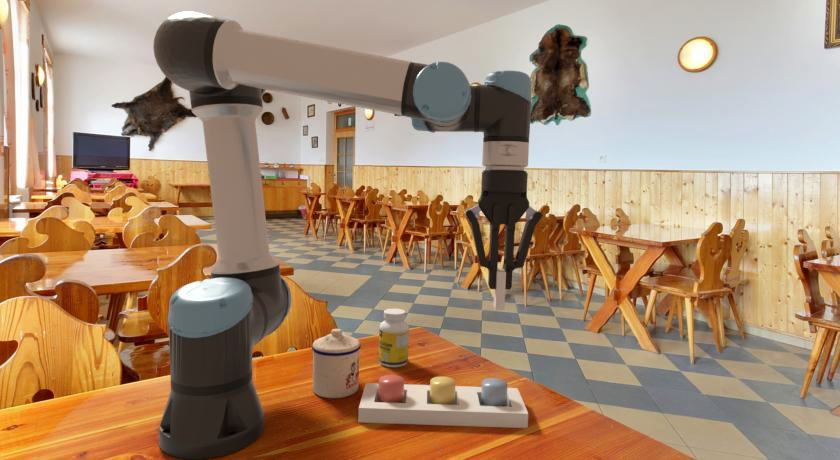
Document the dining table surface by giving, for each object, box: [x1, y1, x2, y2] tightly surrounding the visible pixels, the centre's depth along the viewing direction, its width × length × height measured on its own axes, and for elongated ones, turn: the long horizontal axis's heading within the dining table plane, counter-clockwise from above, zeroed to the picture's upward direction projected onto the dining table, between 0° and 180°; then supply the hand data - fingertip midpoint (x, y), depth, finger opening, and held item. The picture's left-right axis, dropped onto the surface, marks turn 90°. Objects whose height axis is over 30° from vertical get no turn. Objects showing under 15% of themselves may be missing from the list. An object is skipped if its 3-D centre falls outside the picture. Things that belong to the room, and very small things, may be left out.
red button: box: [378, 374, 405, 403], centre depth 87 cm, size 4×4×4 cm
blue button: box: [481, 377, 509, 407], centre depth 87 cm, size 4×4×4 cm
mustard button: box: [429, 376, 457, 405], centre depth 87 cm, size 4×4×4 cm
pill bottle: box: [378, 308, 410, 368], centre depth 109 cm, size 6×6×12 cm
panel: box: [357, 382, 529, 429], centre depth 87 cm, size 28×10×2 cm, turn 89°
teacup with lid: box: [311, 328, 361, 399], centre depth 96 cm, size 12×9×12 cm
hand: (498, 307), depth 85 cm, fingers closed
